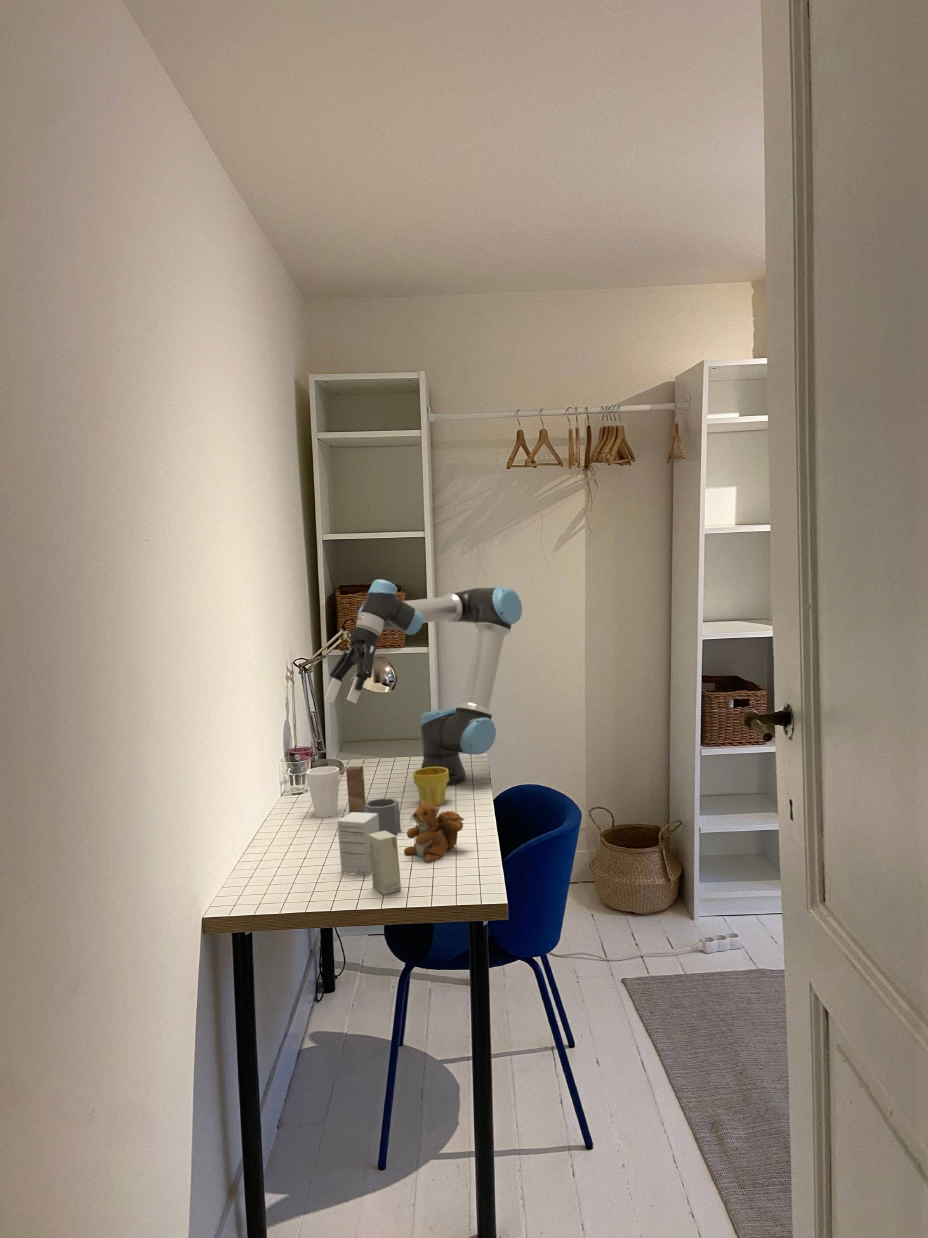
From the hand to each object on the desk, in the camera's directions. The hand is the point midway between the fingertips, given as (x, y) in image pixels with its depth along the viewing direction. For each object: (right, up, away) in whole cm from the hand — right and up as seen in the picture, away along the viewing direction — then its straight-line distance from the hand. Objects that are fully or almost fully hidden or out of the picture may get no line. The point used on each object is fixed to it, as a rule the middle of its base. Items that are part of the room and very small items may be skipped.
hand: (339, 701), depth 242 cm
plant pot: (+25, -32, +18) cm, 45 cm away
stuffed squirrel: (+27, -35, -27) cm, 52 cm away
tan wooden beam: (+5, -34, +2) cm, 35 cm away
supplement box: (+10, -37, -35) cm, 51 cm away
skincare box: (+17, -37, -48) cm, 63 cm away
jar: (+13, -34, -7) cm, 37 cm away
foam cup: (-6, -34, +14) cm, 37 cm away
